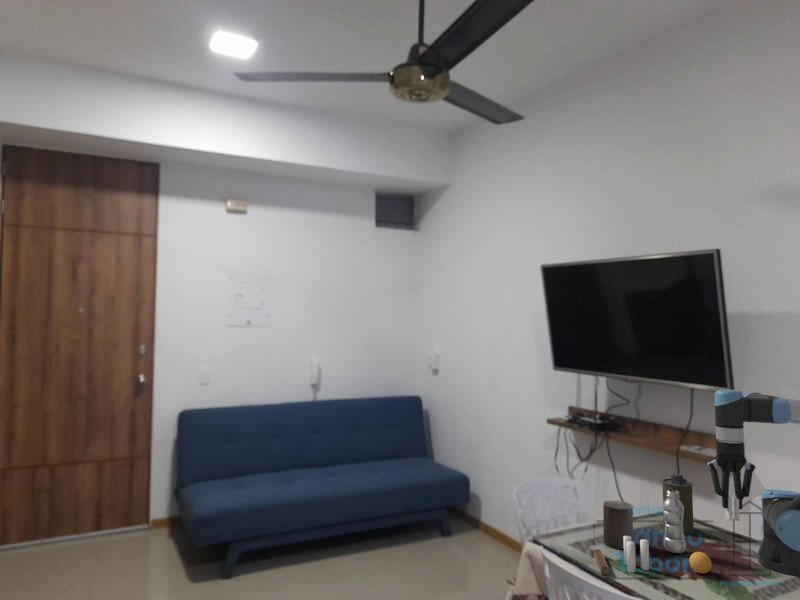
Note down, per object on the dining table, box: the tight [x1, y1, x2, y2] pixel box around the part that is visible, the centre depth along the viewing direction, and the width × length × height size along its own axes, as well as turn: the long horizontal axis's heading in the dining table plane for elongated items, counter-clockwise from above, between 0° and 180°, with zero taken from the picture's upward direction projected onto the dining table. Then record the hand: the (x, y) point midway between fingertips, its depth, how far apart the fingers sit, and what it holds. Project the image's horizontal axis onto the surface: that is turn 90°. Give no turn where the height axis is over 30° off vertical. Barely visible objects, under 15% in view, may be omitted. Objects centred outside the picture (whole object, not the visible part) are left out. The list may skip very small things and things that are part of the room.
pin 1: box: [623, 536, 632, 566], centre depth 179 cm, size 2×2×8 cm
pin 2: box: [626, 541, 637, 574], centre depth 174 cm, size 2×2×8 cm
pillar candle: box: [602, 499, 634, 550], centre depth 196 cm, size 10×10×15 cm
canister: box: [661, 472, 695, 535], centre depth 211 cm, size 11×10×20 cm
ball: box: [689, 551, 713, 574], centre depth 173 cm, size 6×6×6 cm
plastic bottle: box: [662, 490, 687, 554], centre depth 189 cm, size 6×7×20 cm
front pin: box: [639, 538, 650, 571], centre depth 176 cm, size 2×2×8 cm
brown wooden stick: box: [593, 548, 609, 576], centre depth 178 cm, size 2×14×2 cm, turn 170°
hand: (732, 519), depth 172 cm, fingers closed
